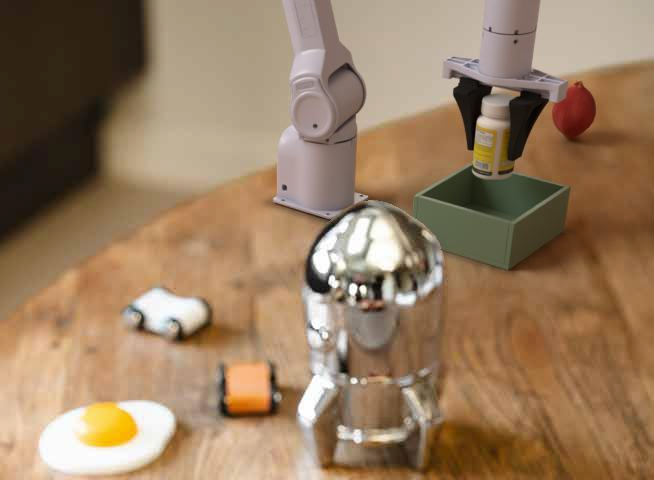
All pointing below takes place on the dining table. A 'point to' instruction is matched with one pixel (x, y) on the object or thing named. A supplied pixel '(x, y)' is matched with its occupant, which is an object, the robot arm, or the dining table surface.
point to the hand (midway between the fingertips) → (494, 153)
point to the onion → (574, 111)
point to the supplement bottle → (493, 139)
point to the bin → (492, 215)
